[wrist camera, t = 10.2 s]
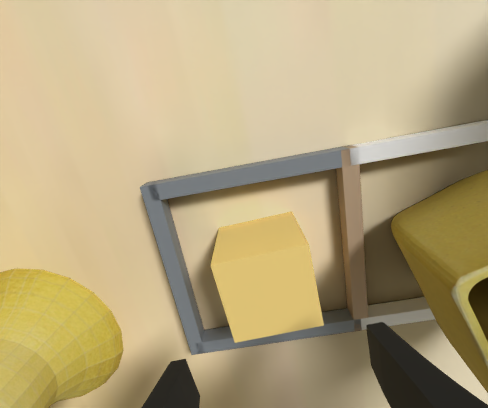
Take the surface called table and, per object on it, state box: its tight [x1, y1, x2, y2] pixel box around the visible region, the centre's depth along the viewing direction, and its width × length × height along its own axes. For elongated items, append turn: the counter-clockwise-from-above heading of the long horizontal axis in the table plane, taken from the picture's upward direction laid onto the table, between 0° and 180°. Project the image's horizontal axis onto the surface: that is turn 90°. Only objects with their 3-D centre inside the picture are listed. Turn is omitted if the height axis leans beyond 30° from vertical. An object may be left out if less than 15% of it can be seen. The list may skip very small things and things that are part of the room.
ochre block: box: [210, 212, 324, 343], centre depth 16 cm, size 5×5×5 cm
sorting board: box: [140, 120, 488, 355], centre depth 18 cm, size 25×13×1 cm, turn 100°
